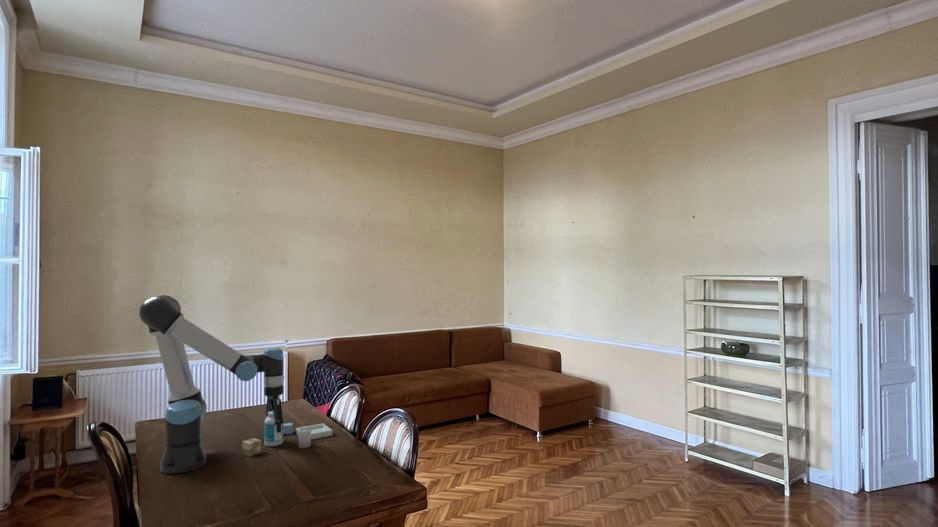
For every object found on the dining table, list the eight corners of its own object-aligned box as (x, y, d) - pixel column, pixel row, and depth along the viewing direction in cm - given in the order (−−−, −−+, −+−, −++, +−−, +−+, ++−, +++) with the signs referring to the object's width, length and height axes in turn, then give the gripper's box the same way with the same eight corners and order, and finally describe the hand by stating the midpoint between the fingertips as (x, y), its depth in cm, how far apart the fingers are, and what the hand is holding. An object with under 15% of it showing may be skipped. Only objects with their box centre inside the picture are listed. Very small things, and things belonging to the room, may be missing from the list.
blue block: (278, 435, 226) (278, 426, 227) (278, 432, 230) (278, 424, 230) (292, 434, 228) (292, 425, 228) (292, 431, 232) (292, 422, 232)
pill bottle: (279, 447, 211) (279, 414, 211) (261, 447, 211) (261, 414, 211) (285, 441, 219) (285, 409, 219) (268, 441, 219) (268, 409, 219)
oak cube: (249, 456, 201) (249, 443, 201) (242, 453, 204) (242, 441, 204) (260, 452, 205) (260, 440, 205) (253, 450, 208) (253, 438, 208)
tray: (304, 440, 219) (304, 435, 219) (295, 433, 229) (295, 428, 229) (332, 435, 226) (332, 430, 226) (323, 428, 236) (323, 423, 236)
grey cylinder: (300, 448, 209) (300, 434, 209) (296, 445, 213) (296, 431, 213) (312, 446, 212) (312, 432, 212) (308, 443, 216) (308, 429, 216)
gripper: (291, 389, 207) (291, 441, 207) (275, 379, 228) (275, 426, 227) (271, 392, 203) (272, 445, 203) (257, 381, 223) (258, 429, 223)
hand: (274, 435), depth 215 cm, fingers open, 13 cm apart
